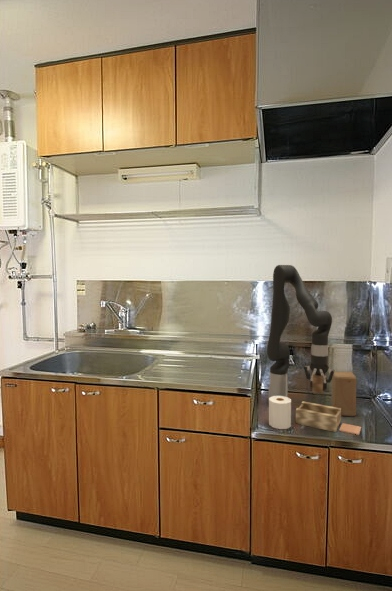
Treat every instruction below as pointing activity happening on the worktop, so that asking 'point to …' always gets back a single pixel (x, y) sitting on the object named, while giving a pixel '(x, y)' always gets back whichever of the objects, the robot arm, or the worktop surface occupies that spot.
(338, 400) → the wooden block
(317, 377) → the walnut block
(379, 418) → the worktop surface
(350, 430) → the tile
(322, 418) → the crate
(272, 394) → the robot arm
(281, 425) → the toilet paper
